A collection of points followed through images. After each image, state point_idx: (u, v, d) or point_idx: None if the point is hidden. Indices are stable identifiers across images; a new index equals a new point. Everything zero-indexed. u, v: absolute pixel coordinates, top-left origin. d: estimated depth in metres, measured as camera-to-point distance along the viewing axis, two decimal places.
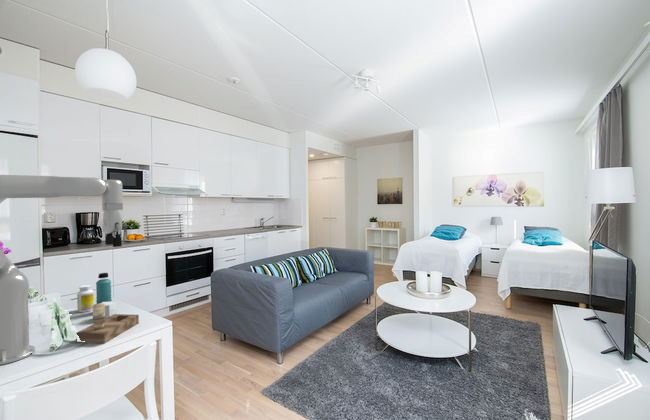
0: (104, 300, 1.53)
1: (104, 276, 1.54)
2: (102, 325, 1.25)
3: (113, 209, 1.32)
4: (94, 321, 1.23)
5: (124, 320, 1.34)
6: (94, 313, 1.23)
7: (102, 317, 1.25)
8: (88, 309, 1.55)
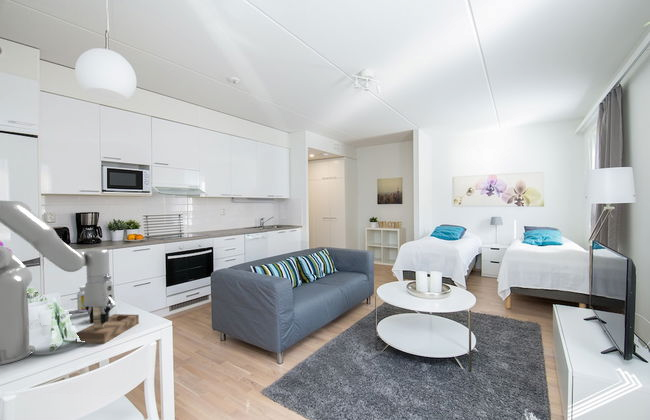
0: None
1: None
2: (102, 325, 1.25)
3: None
4: (94, 321, 1.23)
5: (124, 320, 1.34)
6: (94, 313, 1.23)
7: None
8: None
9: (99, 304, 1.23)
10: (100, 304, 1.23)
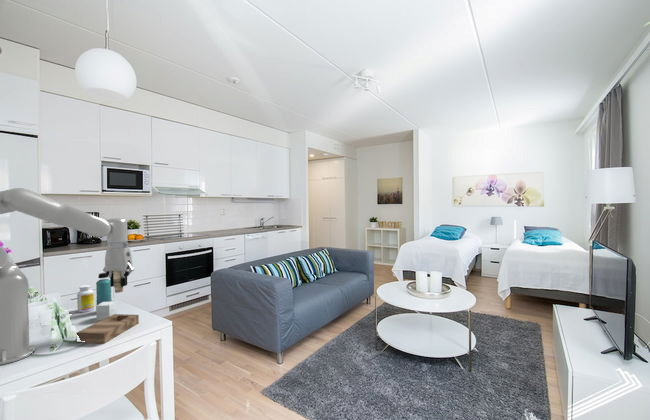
0: (104, 300, 1.53)
1: (104, 276, 1.54)
2: (122, 288, 1.36)
3: None
4: (114, 284, 1.34)
5: (124, 320, 1.34)
6: (114, 277, 1.34)
7: None
8: (88, 309, 1.55)
9: (119, 268, 1.33)
10: (119, 268, 1.33)
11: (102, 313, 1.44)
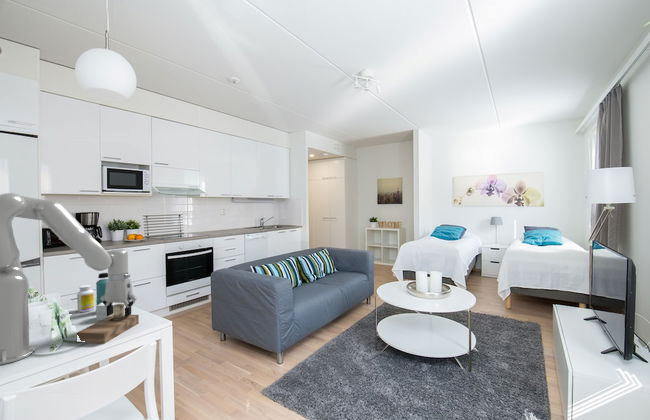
0: None
1: (104, 276, 1.54)
2: None
3: None
4: (115, 320, 1.34)
5: (124, 320, 1.34)
6: (115, 313, 1.34)
7: (122, 316, 1.36)
8: (88, 309, 1.55)
9: (119, 300, 1.34)
10: (120, 300, 1.34)
11: (102, 313, 1.44)
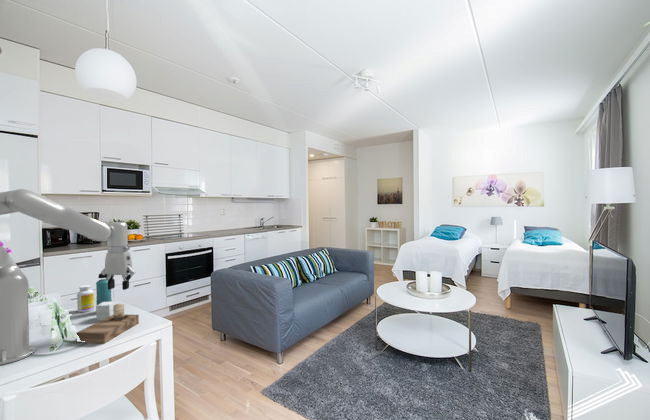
0: (104, 300, 1.53)
1: None
2: None
3: None
4: (114, 320, 1.34)
5: (124, 320, 1.34)
6: (114, 313, 1.34)
7: (122, 316, 1.36)
8: (88, 309, 1.55)
9: (119, 272, 1.33)
10: (119, 272, 1.33)
11: (102, 313, 1.44)
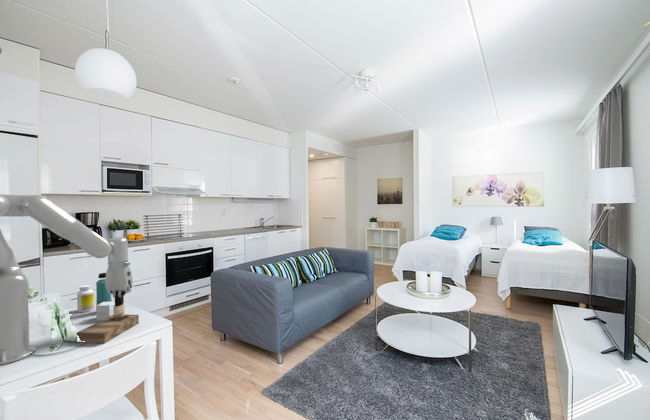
0: (104, 300, 1.53)
1: (104, 276, 1.54)
2: None
3: None
4: (115, 320, 1.34)
5: (124, 320, 1.34)
6: (115, 313, 1.34)
7: (122, 316, 1.36)
8: (88, 309, 1.55)
9: (119, 288, 1.34)
10: (120, 288, 1.34)
11: (102, 313, 1.44)
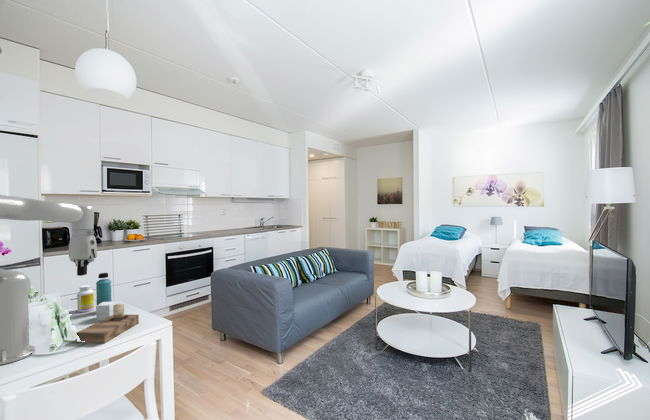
0: (104, 300, 1.53)
1: (104, 276, 1.54)
2: None
3: None
4: (114, 320, 1.34)
5: (124, 320, 1.34)
6: (114, 313, 1.34)
7: (122, 316, 1.36)
8: (88, 309, 1.55)
9: (82, 256, 1.30)
10: (82, 257, 1.30)
11: (102, 313, 1.44)
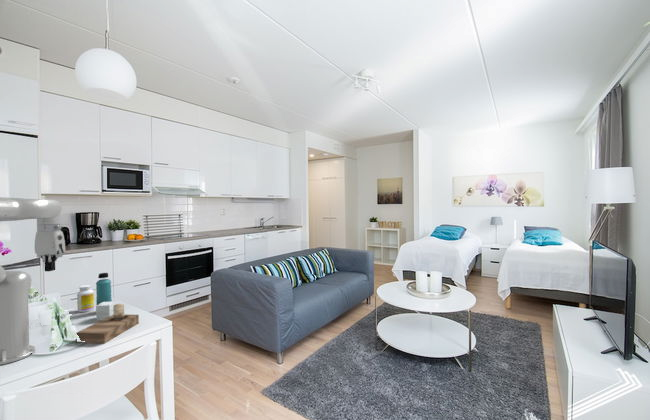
0: (104, 300, 1.53)
1: (104, 276, 1.54)
2: None
3: None
4: (114, 320, 1.34)
5: (124, 320, 1.34)
6: (115, 313, 1.34)
7: (122, 316, 1.36)
8: (88, 309, 1.55)
9: (49, 252, 1.27)
10: (49, 252, 1.27)
11: (102, 313, 1.44)
